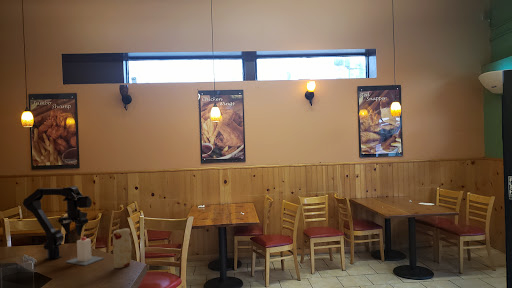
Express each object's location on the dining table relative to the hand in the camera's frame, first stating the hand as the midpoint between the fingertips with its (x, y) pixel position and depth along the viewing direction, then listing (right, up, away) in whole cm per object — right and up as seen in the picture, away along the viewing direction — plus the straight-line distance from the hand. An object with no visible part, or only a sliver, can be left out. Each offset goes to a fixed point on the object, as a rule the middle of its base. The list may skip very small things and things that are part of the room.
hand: (73, 235), depth 215 cm
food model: (+35, -12, -20) cm, 42 cm away
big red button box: (+9, -12, -7) cm, 17 cm away
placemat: (+10, -13, -7) cm, 17 cm away
